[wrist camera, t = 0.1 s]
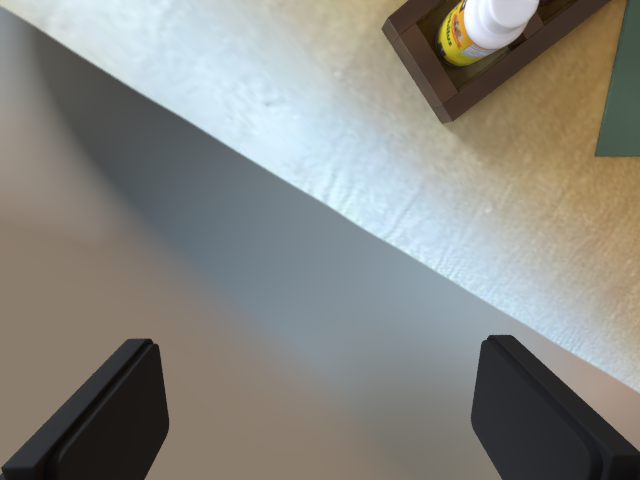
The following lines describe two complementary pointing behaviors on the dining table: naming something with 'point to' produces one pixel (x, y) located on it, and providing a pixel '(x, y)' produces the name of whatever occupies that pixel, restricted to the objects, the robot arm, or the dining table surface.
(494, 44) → the supplement bottle
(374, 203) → the dining table surface
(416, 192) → the dining table surface
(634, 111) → the mat
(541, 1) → the pill bottle
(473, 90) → the rack
